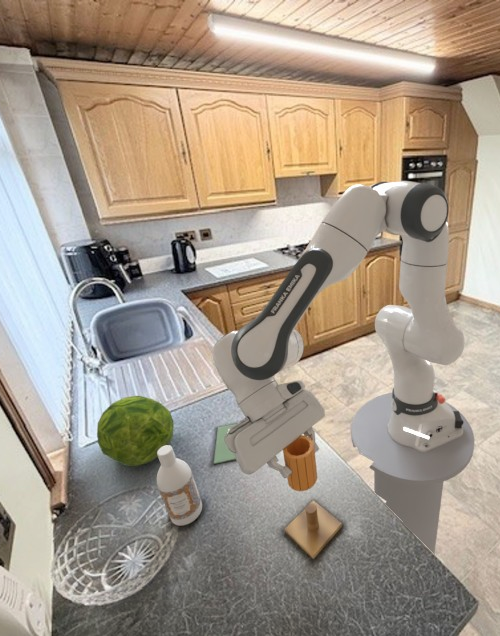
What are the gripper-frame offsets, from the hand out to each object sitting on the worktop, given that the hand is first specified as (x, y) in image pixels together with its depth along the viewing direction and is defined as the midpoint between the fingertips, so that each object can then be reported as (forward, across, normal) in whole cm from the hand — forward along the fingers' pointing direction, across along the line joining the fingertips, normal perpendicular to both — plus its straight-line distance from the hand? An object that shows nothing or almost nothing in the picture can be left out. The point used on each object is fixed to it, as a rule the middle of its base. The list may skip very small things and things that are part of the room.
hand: (302, 463), depth 69 cm
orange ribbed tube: (+3, 0, +4) cm, 5 cm away
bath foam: (-4, -16, +31) cm, 35 cm away
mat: (-11, +5, +38) cm, 39 cm away
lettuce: (-25, -15, +52) cm, 60 cm away
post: (+14, 0, +13) cm, 19 cm away
